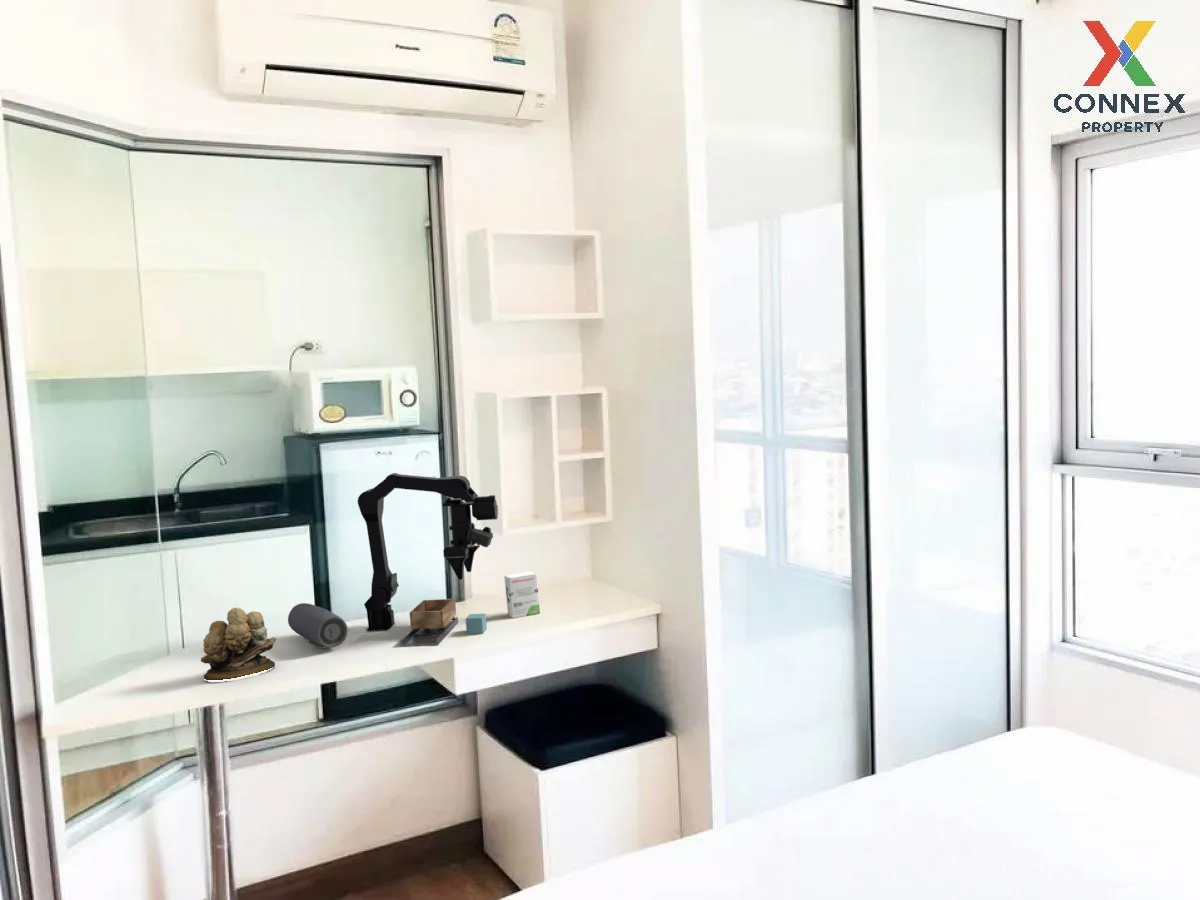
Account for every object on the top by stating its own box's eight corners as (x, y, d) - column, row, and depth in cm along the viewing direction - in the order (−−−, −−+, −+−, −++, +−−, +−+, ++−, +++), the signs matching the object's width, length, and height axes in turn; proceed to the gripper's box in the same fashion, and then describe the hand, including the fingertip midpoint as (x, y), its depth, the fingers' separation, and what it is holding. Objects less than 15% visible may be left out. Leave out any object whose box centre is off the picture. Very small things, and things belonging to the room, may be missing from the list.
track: (399, 646, 256) (399, 640, 255) (423, 624, 276) (422, 618, 276) (438, 645, 254) (437, 639, 254) (458, 622, 275) (458, 617, 275)
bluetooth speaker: (352, 647, 258) (348, 611, 257) (318, 656, 253) (314, 618, 252) (320, 632, 276) (316, 597, 275) (287, 639, 271) (284, 604, 270)
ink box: (535, 609, 283) (531, 570, 282) (540, 613, 278) (537, 573, 277) (507, 614, 280) (503, 574, 279) (512, 618, 275) (508, 578, 274)
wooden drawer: (411, 633, 264) (409, 612, 263) (425, 619, 277) (423, 600, 276) (444, 632, 263) (442, 611, 262) (456, 618, 276) (454, 598, 275)
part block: (466, 634, 262) (465, 618, 262) (470, 630, 267) (469, 614, 266) (483, 634, 262) (481, 618, 261) (486, 629, 266) (485, 613, 266)
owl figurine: (275, 660, 252) (268, 596, 251) (282, 672, 242) (275, 605, 240) (201, 674, 244) (193, 608, 242) (205, 687, 234) (198, 618, 232)
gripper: (480, 526, 262) (484, 582, 263) (496, 514, 280) (500, 567, 282) (441, 527, 263) (445, 583, 265) (459, 515, 281) (463, 568, 283)
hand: (464, 575), depth 273 cm, fingers open, 9 cm apart
